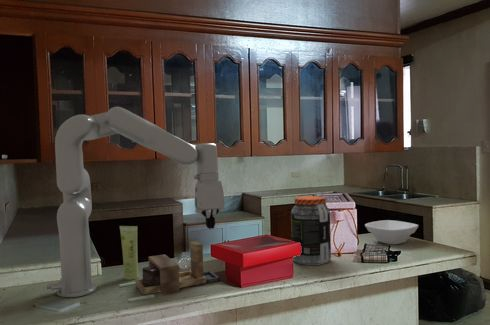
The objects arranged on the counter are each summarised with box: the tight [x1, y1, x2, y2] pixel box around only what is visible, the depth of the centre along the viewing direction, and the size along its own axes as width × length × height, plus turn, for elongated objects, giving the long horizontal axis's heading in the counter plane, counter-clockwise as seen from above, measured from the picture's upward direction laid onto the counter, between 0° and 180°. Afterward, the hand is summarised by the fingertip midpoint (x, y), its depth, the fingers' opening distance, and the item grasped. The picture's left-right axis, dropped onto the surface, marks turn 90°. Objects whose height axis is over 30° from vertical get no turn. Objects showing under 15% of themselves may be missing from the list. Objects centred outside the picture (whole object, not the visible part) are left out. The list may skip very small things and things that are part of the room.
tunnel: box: [148, 254, 181, 296], centre depth 146 cm, size 6×16×9 cm, turn 26°
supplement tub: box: [290, 195, 332, 266], centre depth 172 cm, size 16×16×26 cm
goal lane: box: [118, 281, 155, 303], centre depth 142 cm, size 8×18×1 cm, turn 26°
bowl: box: [364, 219, 419, 245], centre depth 199 cm, size 21×21×9 cm
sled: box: [134, 240, 207, 295], centre depth 147 cm, size 22×11×13 cm, turn 116°
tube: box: [119, 225, 139, 281], centre depth 157 cm, size 6×5×20 cm
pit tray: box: [203, 270, 221, 284], centre depth 154 cm, size 5×9×1 cm, turn 26°
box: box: [142, 265, 160, 288], centre depth 145 cm, size 6×6×7 cm
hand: (210, 227), depth 154 cm, fingers closed
